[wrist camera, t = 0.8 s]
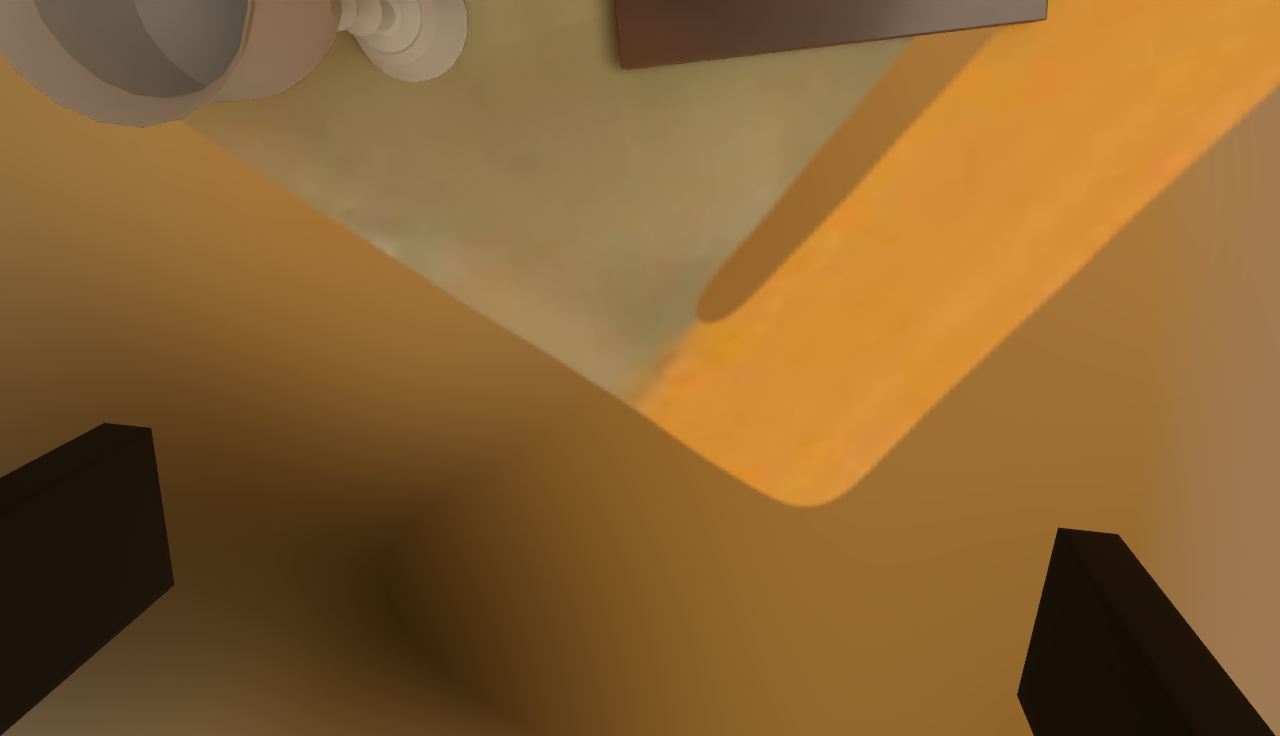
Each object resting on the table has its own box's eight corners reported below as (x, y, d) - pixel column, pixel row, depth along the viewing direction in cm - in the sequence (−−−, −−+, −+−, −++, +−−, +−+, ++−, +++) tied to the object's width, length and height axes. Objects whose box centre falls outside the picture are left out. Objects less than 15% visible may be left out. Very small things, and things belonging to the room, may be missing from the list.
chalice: (521, -10, 35) (297, -92, 18) (449, 137, 37) (192, 185, 20) (365, -108, 35) (-12, -288, 18) (303, 46, 37) (-84, 19, 20)
